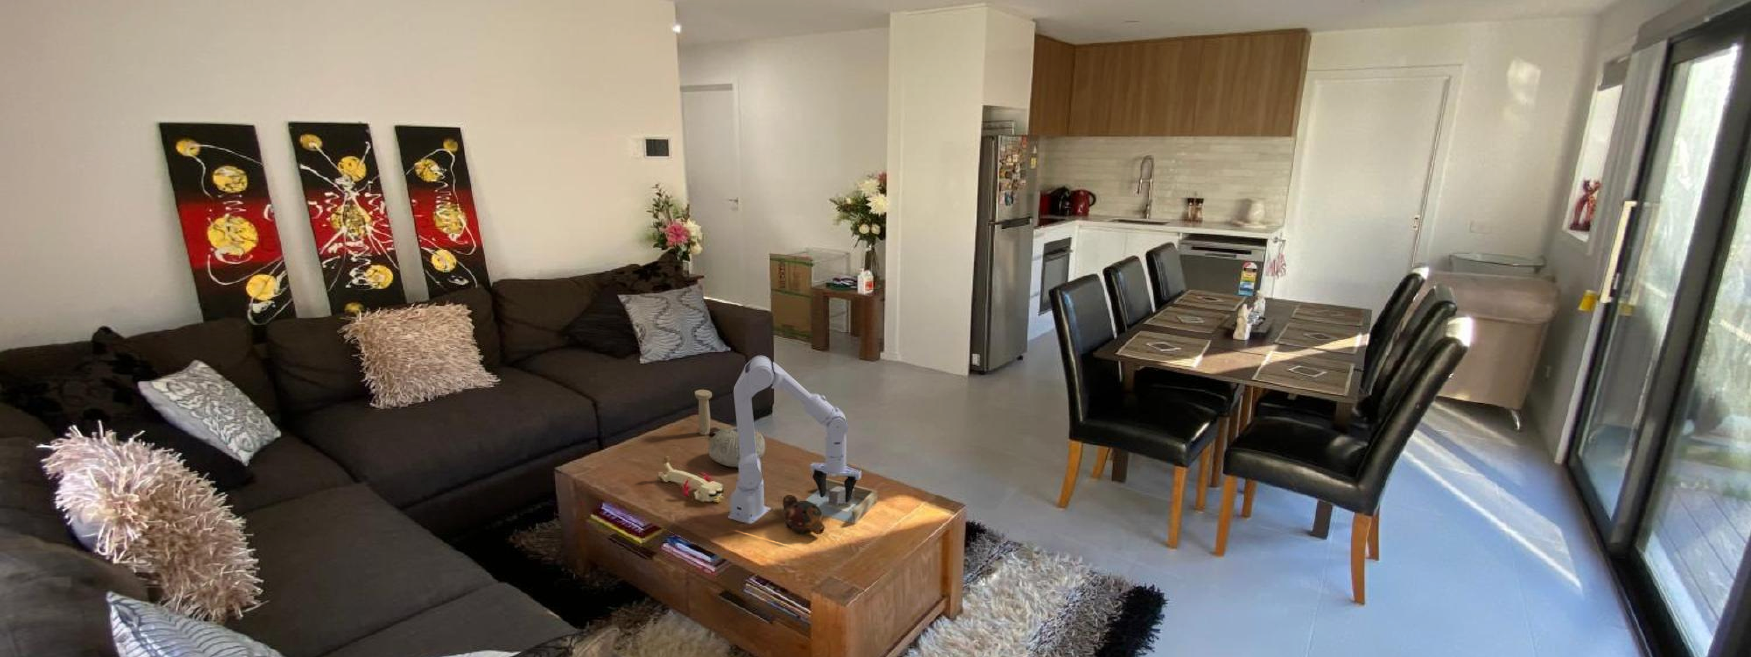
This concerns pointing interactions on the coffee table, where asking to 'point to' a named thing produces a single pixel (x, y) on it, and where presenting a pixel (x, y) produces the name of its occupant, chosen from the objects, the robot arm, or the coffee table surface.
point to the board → (833, 507)
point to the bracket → (839, 496)
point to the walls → (860, 493)
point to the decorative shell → (731, 447)
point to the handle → (704, 410)
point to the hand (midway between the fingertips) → (835, 498)
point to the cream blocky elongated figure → (693, 483)
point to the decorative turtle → (802, 515)
